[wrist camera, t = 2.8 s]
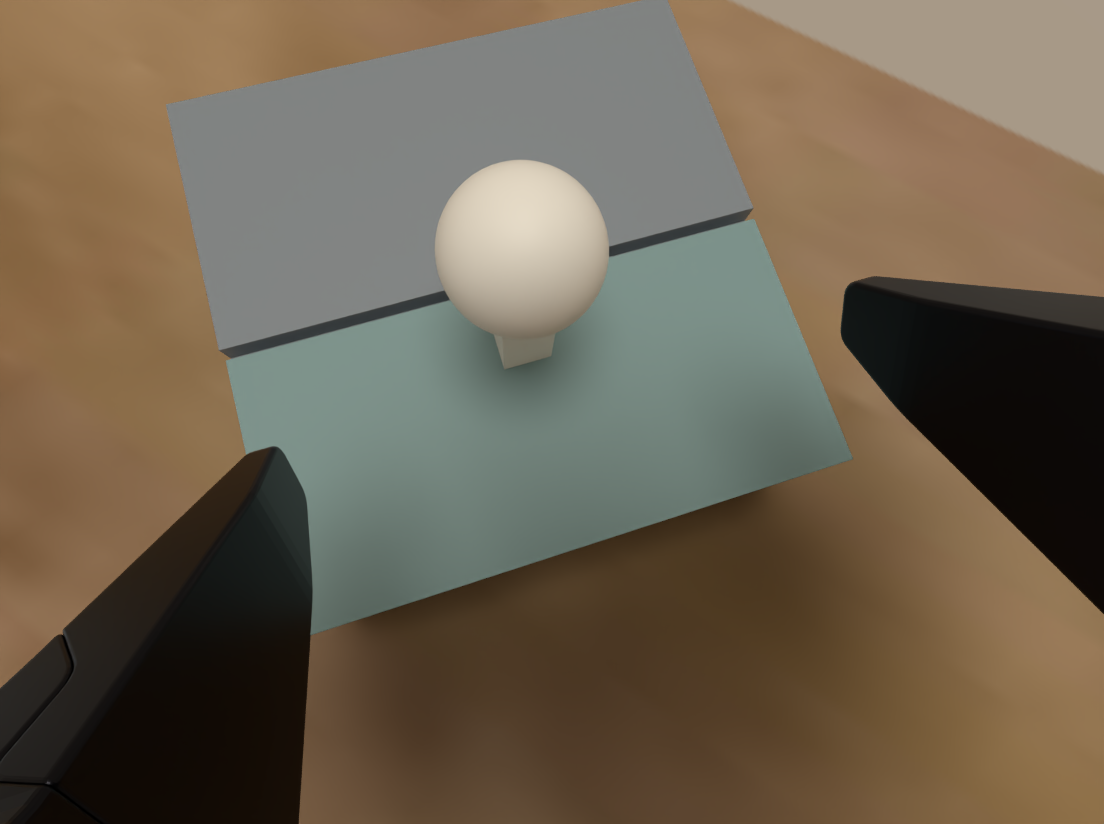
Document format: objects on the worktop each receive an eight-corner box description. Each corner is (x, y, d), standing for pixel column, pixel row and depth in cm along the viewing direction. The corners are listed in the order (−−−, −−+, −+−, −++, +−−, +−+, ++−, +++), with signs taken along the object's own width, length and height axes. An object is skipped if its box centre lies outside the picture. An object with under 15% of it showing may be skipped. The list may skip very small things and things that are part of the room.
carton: (765, 481, 21) (856, 457, 15) (350, 616, 19) (282, 644, 13) (630, 126, 23) (665, -5, 18) (255, 217, 22) (165, 104, 16)
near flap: (840, 462, 16) (1075, 401, 9) (296, 638, 14) (103, 718, 7) (745, 230, 17) (891, 28, 10) (236, 368, 15) (25, 232, 9)
